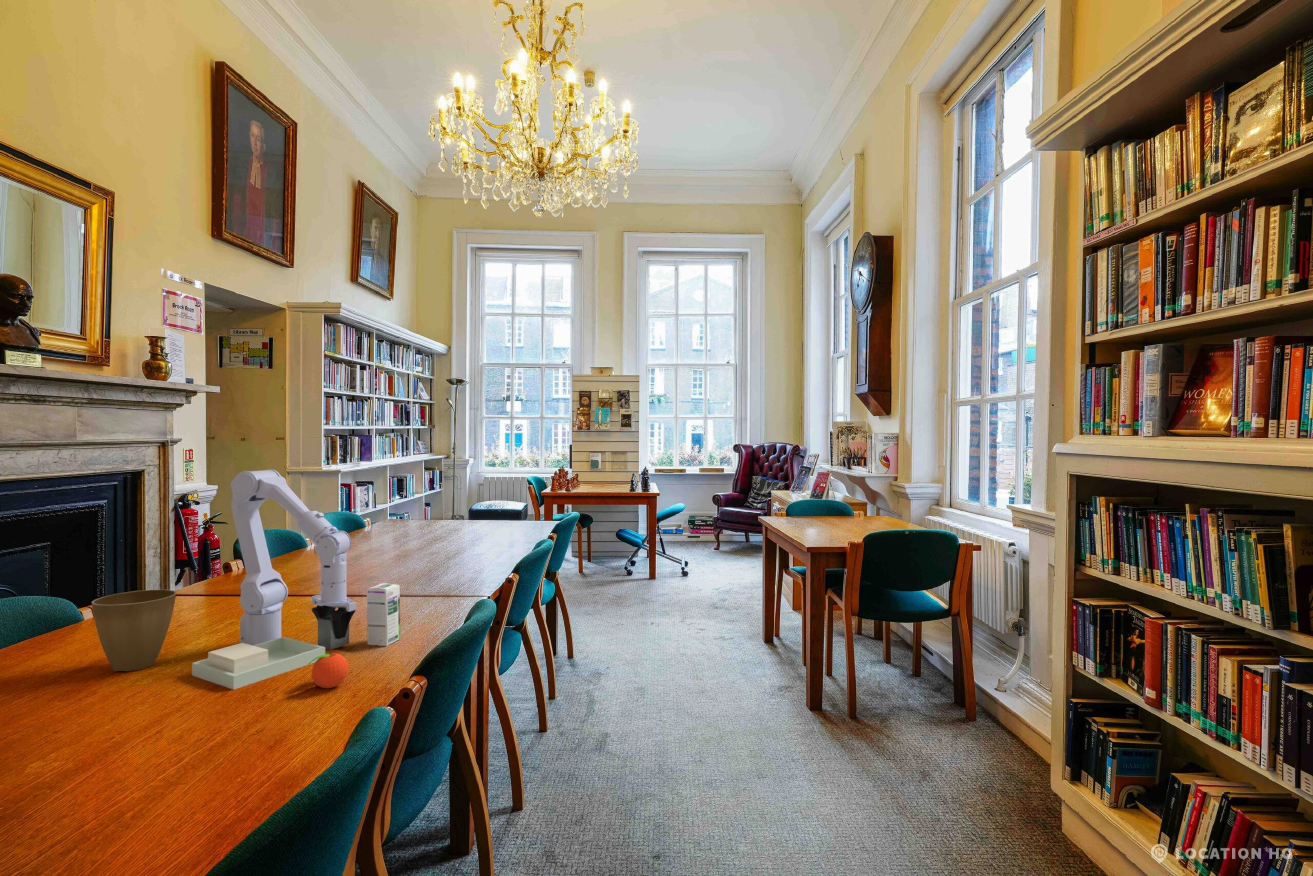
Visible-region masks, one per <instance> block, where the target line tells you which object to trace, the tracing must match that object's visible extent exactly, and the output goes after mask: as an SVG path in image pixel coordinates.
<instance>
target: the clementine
mask: <svg viewBox="0 0 1313 876" xmlns="http://www.w3.org/2000/svg"><path fill="white" fill-rule="evenodd" d="M318 658H319V659H318ZM316 659H318V660H317V661H316V662H315V663H313V666H312V669H311V672H310V673H311V678H312V680H313V682H314V684H315V685H317V686H318V687H320V688H321V689H332V688H334V687H338V686H339V685H341V683H343V682H344V680H346V678H347V676H348V674H349V663H348V661H347V659H346V657H344V656H343V655H341V654H340V653H337V652H335V653H334V652H331V653H325V655H321V656H318V657H316V658H315V659H313V660H312V661H314V660H316ZM312 661H311V662H312ZM311 662H310V663H311ZM310 663H309V664H308V665H307V666H309V665H311V664H310Z"/></svg>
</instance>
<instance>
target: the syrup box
mask: <svg viewBox="0 0 1313 876" xmlns="http://www.w3.org/2000/svg"><path fill="white" fill-rule="evenodd" d="M400 591H401V588H400V583H393V582H391V583H390V582H388V583H386V582H384V583H383V582H382V583H379V584H377V585H373V586H371V587H368V588H367V589H366V623H367V624H366V627H367V628H366V630H367V645H368V646H369V645H370V646H375V645H378V646H377V647H388V646H390V645H391V644H393V643H395V642H397V641H400V640H401V639H402V638H401V596H400V595H401V593H400Z"/></svg>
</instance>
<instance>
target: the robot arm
mask: <svg viewBox="0 0 1313 876" xmlns="http://www.w3.org/2000/svg"><path fill="white" fill-rule="evenodd" d="M229 485H230V489H231V493H232V496H231V497H232V498H231V505H230V507H231V508H230V509H231V513H232V517H233V522H234V526H235V530H236V533H237V537H238V543H239V547H240V551H241V555H242V559H243V563H244V569H245V573H246V576H245V578H244V579H243V581H242V582H241V583H240V586H239V589H240V598H239V604H240V607H241V609H242V610H243V611H244V612H243V614H242V615H241V616H240V619H239V643H245V644H249V645H252V646H253V645H256V644H260V643H264V642H267V641H271V640H274V639H278V638H281V637H282V607H283V606H284V605H283V603H284V602H285V601H286V600H287V598H288V595H289V589H288V586H287V584H286V583H285V582H284V580H283V579H282V575H281V573H280V572H278V571H276V570H275V569H273V567H272V566H273V565H272V562H271V556H270V553H269V550H268V549H269V548H268V544H267V540H266V536H265V531H264V528H263V523H262V519H261V516H260V515H261V514H260V511H259V509H260V507H261V506H262V505H263V504H264V502H265V501H266V500H273V501H275V502H276V503H277V504H278V505H279V506H281V507H282V508H283V509H284V510H285V511H286V512H287V513H289V515H291V516H292V517H294V518H295V520H297V523H296V527H297V528H298V529H299V530H300V531H301V532H302V533H303V534H304V535H305V536H306V537H307V538H308V539H309V540H310V541H311V542H312V543H313V544H314V545H315V546H314V551H315V553H316V554H317V555H318V558H319V563H320V594H316V595H312V596H311V605H316V607H312V608H311V611H312V613H313V615H314V617H315V618H316V621H317V622H318V618H320V617H324V616H328V615H331V616H332V618H333V621H334V626H335V636H336V639H341V638H344V637H345V636H346V633H347V629H348V625H349V626H350V622H351V620H352V618H353V616H354V614H355V612H356V611H357V601H353V600H352V599H350V598H349V597H348V596H347V592H348V591H347V589H348V588H347V587H348V586H347V582H348V581H347V577H348V576H347V575H348V573H347V570H348V568H347V565H348V563H347V559H348V558H347V556H348V555H347V552H348V551H350V549H351V547H352V539H351V536H350V535H349V534H348V532H347V531H345V530H338V528H337V527H336V526H333V525H332V524H331V523H330V522H329V520H327V518H325V514H324V513H323V512H319V511H318V510H310V509H309V508H308V507H307V506H306V504H304V503H303V501H302V500H301V498H300V497H298V496H297V495H296V493H295V492H294V491H293V490H292V489H291V488H290V487H289V486H288V484H287V479H286V478H285V477H283V476H281V474H280V473H279V472H278V471H277V470H276V469H271V468H270V469H264V470H251V471H249V470H243V471H240V472H238V474H236V475H235V476H234V478H233V479H232V481H231V482H230V484H229Z"/></svg>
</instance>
